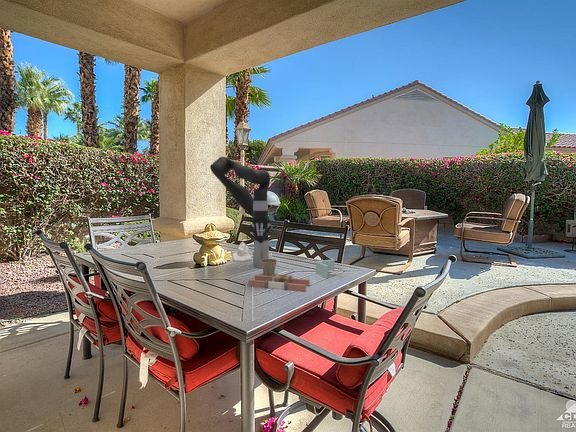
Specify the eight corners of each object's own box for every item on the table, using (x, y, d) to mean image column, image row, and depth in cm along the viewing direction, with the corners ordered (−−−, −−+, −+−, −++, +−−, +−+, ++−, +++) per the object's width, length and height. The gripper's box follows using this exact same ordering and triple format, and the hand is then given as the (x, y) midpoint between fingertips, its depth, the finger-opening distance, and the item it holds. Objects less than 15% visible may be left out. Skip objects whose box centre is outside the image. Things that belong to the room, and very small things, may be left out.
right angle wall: (326, 279, 170) (326, 266, 169) (315, 273, 181) (316, 261, 180) (344, 276, 175) (344, 264, 174) (333, 271, 186) (333, 259, 185)
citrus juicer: (256, 261, 214) (258, 243, 210) (239, 267, 204) (241, 248, 199) (245, 254, 222) (247, 236, 217) (228, 260, 211) (229, 241, 207)
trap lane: (247, 286, 157) (247, 278, 156) (255, 280, 168) (255, 272, 167) (305, 292, 149) (305, 283, 148) (309, 284, 160) (309, 277, 159)
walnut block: (274, 287, 156) (274, 277, 156) (277, 283, 162) (277, 274, 161) (287, 288, 154) (287, 278, 154) (290, 284, 160) (290, 275, 160)
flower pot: (280, 274, 179) (279, 259, 178) (272, 278, 170) (272, 263, 169) (265, 272, 183) (265, 258, 182) (257, 276, 174) (257, 261, 173)
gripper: (245, 209, 155) (246, 243, 157) (270, 210, 152) (270, 244, 153) (251, 208, 162) (251, 241, 164) (275, 209, 159) (275, 242, 161)
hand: (260, 242), depth 159 cm, fingers closed
